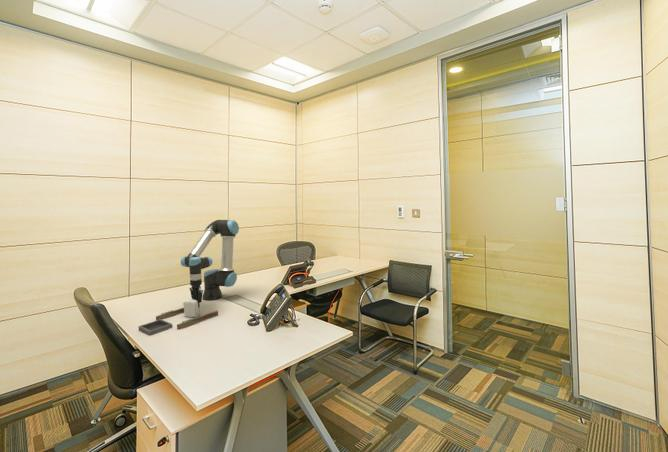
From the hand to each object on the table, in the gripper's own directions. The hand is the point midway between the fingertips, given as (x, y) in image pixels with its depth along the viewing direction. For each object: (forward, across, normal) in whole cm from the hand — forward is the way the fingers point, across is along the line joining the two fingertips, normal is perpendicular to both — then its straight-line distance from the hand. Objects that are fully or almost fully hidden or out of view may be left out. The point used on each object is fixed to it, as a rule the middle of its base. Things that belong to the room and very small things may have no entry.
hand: (197, 311), depth 230 cm
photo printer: (+2, -1, -4) cm, 5 cm away
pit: (+2, 0, -29) cm, 29 cm away
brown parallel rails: (+2, 0, -7) cm, 8 cm away
